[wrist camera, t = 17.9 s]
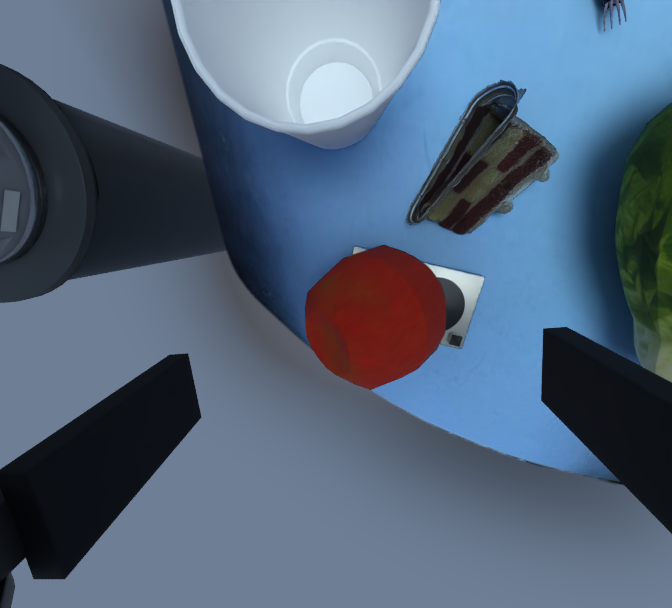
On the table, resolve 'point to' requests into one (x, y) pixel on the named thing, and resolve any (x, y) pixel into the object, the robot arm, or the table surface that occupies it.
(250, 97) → the cup
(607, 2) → the toy creature
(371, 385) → the apple
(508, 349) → the table surface
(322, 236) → the table surface
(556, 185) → the table surface
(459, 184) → the chocolate cake
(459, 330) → the hob plate
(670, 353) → the lettuce
